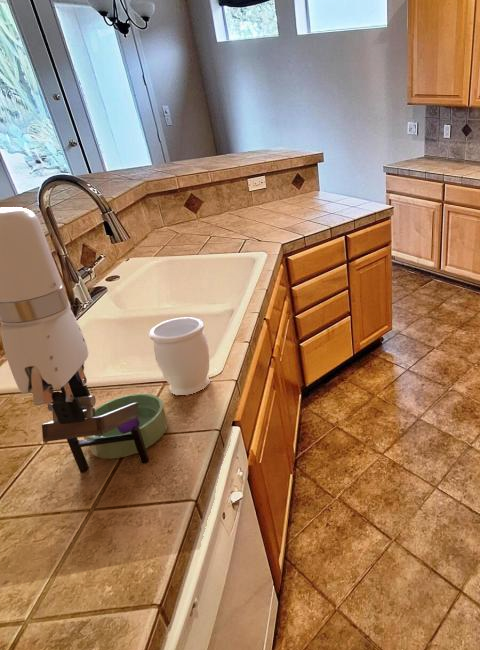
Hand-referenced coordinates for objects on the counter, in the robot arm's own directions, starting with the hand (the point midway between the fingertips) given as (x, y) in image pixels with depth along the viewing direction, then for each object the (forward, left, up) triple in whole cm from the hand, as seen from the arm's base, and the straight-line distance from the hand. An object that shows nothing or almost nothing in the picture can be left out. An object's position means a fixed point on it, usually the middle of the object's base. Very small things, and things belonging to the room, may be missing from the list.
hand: (77, 414), depth 64 cm
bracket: (0, +5, -15) cm, 16 cm away
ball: (0, +15, -13) cm, 20 cm away
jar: (+8, +28, -16) cm, 33 cm away
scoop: (0, +4, -6) cm, 7 cm away
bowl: (0, +13, -15) cm, 20 cm away
